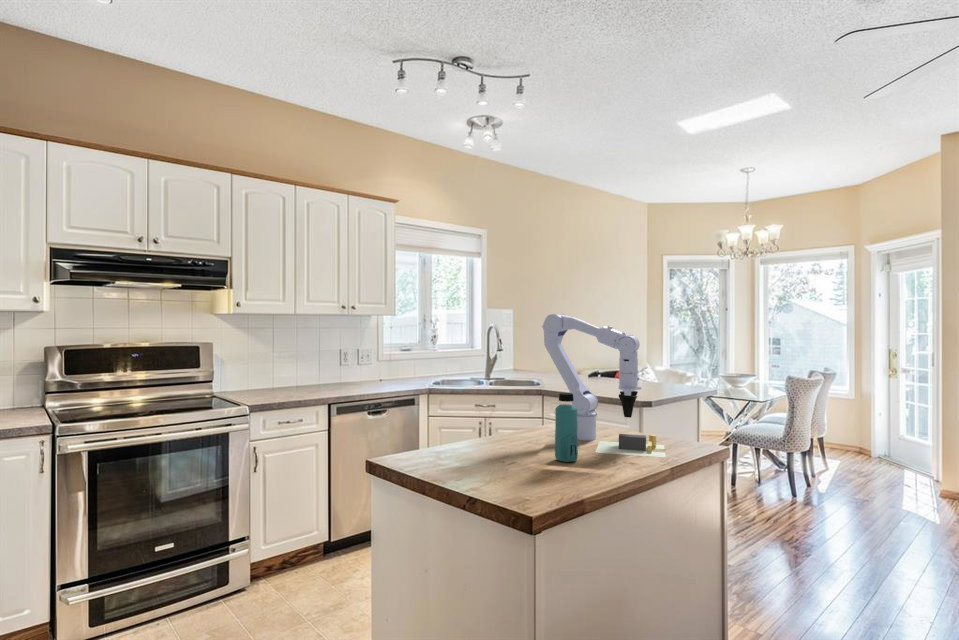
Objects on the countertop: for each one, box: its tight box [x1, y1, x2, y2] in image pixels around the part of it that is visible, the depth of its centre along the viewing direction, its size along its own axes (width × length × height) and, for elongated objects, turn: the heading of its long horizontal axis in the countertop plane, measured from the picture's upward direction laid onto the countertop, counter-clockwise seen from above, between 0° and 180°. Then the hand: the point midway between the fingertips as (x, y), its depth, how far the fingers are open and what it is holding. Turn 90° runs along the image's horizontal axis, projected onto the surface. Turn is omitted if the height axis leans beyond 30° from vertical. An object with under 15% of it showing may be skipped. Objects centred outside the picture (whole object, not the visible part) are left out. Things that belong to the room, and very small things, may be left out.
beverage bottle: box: [554, 392, 579, 462], centre depth 156 cm, size 6×7×20 cm
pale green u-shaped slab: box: [595, 434, 667, 459], centre depth 171 cm, size 20×16×4 cm
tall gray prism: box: [618, 433, 647, 451], centre depth 170 cm, size 8×4×4 cm, turn 74°
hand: (628, 415), depth 178 cm, fingers open, 7 cm apart
